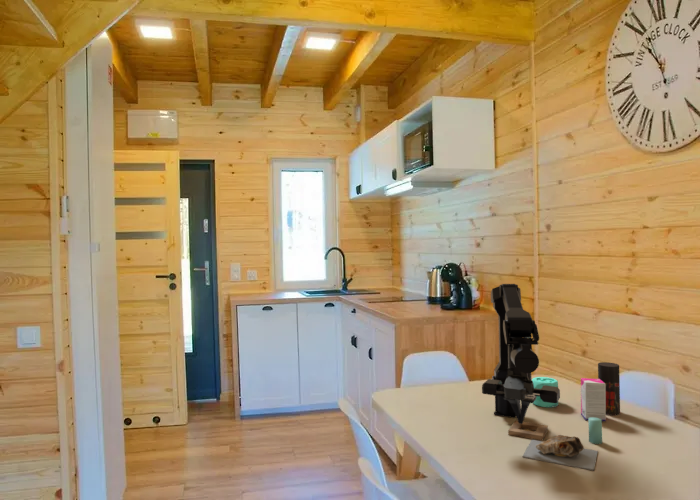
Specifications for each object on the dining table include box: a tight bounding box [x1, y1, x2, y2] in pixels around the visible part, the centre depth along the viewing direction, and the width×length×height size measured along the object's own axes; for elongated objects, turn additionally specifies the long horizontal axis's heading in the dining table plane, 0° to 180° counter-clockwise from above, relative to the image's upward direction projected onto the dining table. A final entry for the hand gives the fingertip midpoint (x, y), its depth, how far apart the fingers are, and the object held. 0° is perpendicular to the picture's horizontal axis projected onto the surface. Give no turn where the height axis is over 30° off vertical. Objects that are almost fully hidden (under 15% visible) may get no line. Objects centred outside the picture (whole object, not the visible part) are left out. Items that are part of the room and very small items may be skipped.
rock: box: [536, 434, 585, 457], centre depth 124 cm, size 9×6×10 cm
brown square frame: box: [507, 420, 549, 441], centre depth 139 cm, size 9×9×1 cm
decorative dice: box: [532, 376, 559, 408], centre depth 164 cm, size 8×8×8 cm
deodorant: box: [597, 361, 621, 416], centre depth 155 cm, size 6×6×15 cm
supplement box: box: [580, 377, 607, 422], centre depth 150 cm, size 6×6×12 cm
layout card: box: [522, 439, 599, 471], centre depth 124 cm, size 16×12×1 cm
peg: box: [588, 417, 603, 445], centre depth 132 cm, size 3×3×6 cm
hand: (520, 423), depth 129 cm, fingers closed
